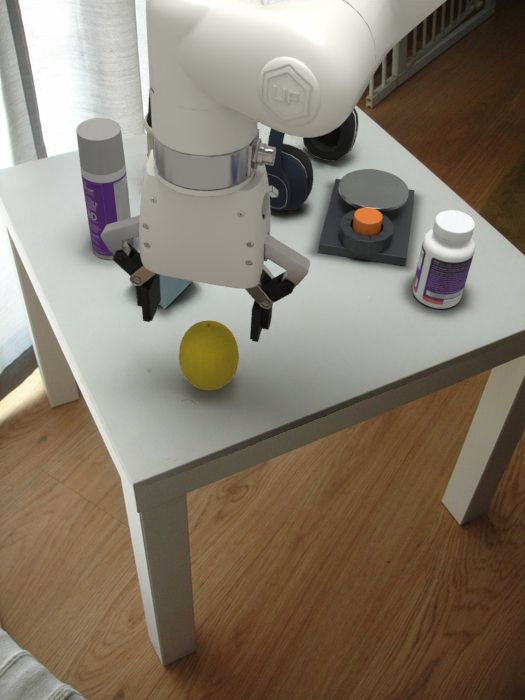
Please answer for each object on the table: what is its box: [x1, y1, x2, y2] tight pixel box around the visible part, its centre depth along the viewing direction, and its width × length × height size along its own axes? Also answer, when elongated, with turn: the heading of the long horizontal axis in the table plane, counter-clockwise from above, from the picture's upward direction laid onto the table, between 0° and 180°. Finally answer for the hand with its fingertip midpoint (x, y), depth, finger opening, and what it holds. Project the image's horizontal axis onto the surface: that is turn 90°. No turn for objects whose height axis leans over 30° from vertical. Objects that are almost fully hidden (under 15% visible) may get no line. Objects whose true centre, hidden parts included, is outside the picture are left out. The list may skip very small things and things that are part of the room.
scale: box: [317, 178, 416, 267], centre depth 94 cm, size 10×14×3 cm
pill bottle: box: [412, 209, 476, 310], centre depth 83 cm, size 5×5×10 cm
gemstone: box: [159, 275, 193, 310], centre depth 83 cm, size 8×8×5 cm
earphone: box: [264, 107, 359, 212], centre depth 95 cm, size 20×7×18 cm, turn 152°
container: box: [75, 117, 134, 261], centre depth 84 cm, size 5×5×15 cm
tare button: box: [353, 207, 383, 236], centre depth 89 cm, size 3×3×2 cm
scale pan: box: [339, 168, 409, 212], centre depth 94 cm, size 8×8×1 cm
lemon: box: [178, 319, 240, 391], centre depth 72 cm, size 6×6×8 cm
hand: (204, 321), depth 69 cm, fingers open, 9 cm apart
